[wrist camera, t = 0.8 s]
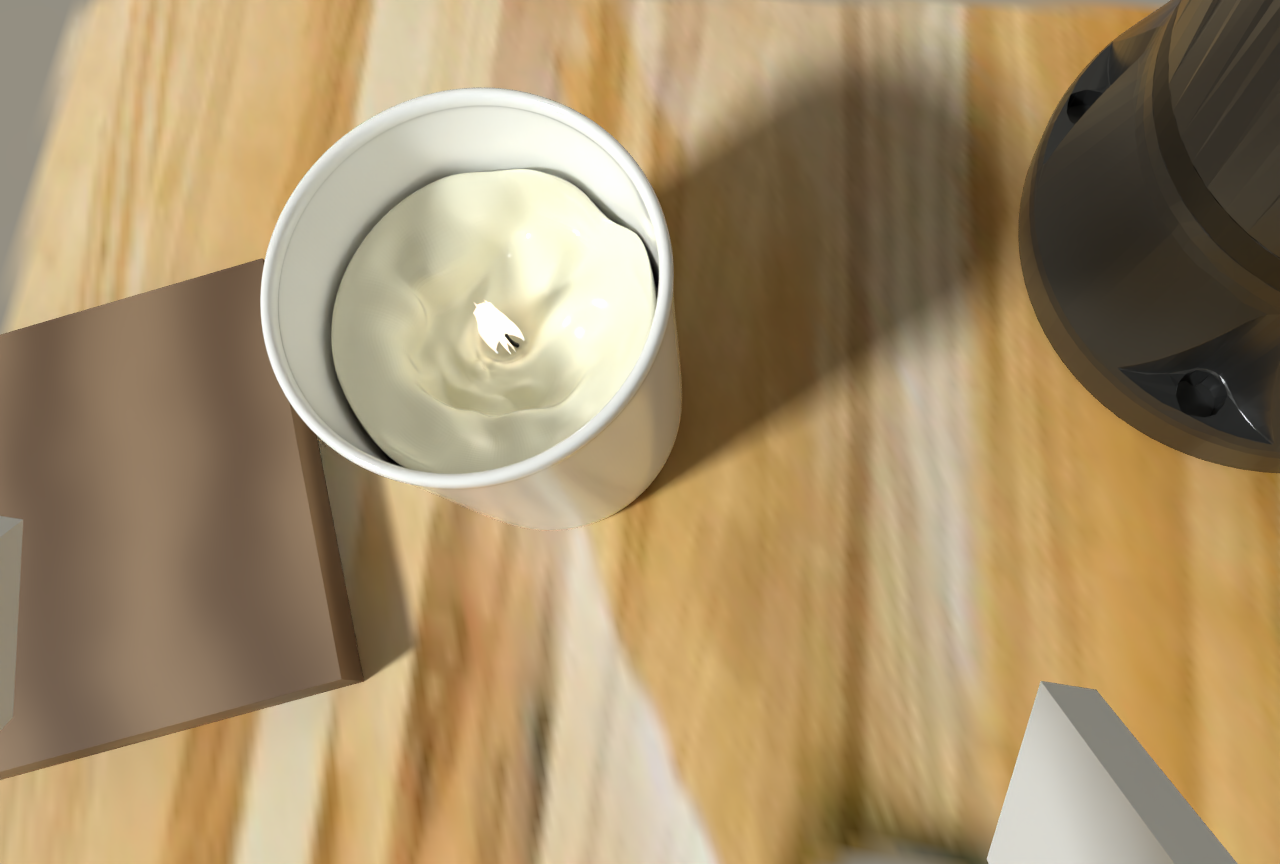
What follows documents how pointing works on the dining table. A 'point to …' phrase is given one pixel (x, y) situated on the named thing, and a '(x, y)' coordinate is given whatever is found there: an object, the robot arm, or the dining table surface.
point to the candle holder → (481, 307)
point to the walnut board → (162, 525)
